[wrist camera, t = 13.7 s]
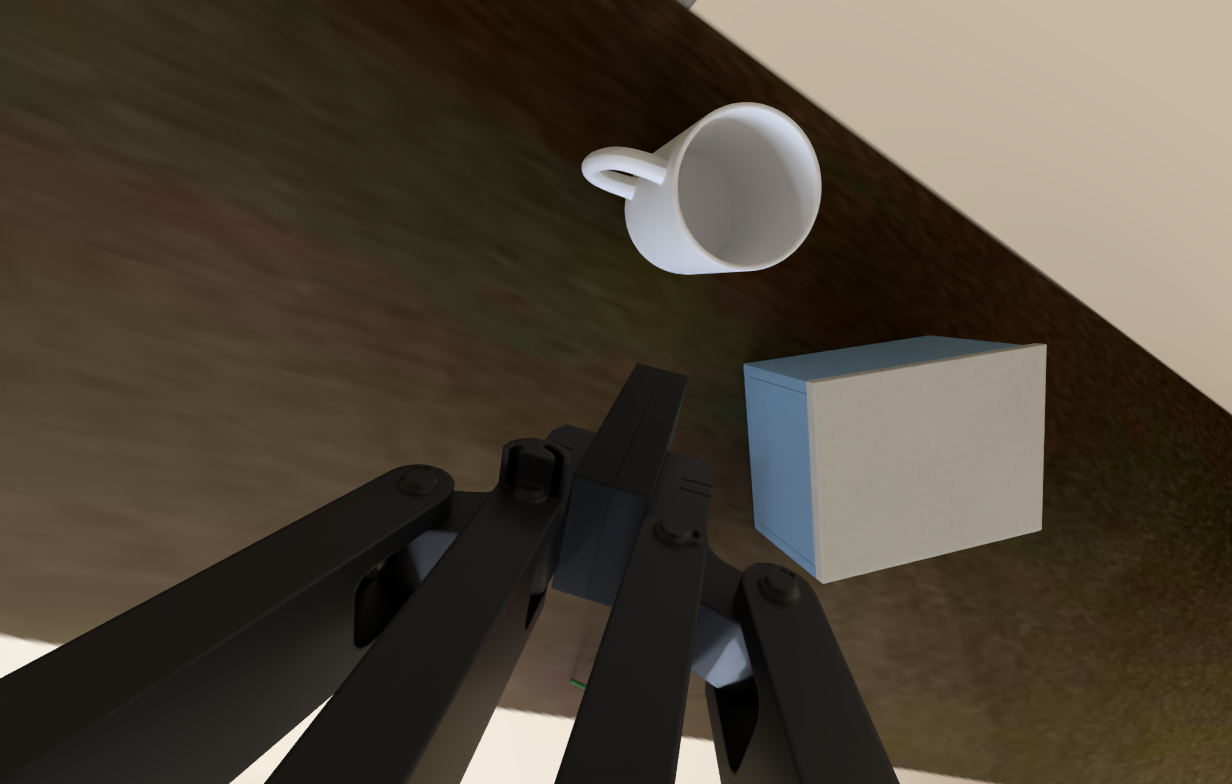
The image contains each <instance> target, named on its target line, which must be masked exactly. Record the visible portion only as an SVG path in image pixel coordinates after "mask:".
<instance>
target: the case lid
mask: <svg viewBox="0 0 1232 784" xmlns="http://www.w3.org/2000/svg"><path fill="white" fill-rule="evenodd" d="M1045 379H1046V344H1038V343H1034V344H1028V345H1022V346H1016V347H1010V348H1004V349H997V350H991V351H985V352H979V353H973V354H967V355H961V356H955V357H949V358H942V359H936V360H930V361H924V362H918V363H912V364H906V365H900V366H894V367H888V368H881V369H875V370H869V371H863V372H857V373H851V374H845V375H839V376H833V377H826V378H820V379H814V380H808V381H806V391H807V411H808V431H809V450H810V470H811V490H812V510H813V530H814V550H815V569H816V579H818V580H819V581H820V582H821V583H823V584H824V583H828V582H832V581H836V580H840V579H844V578H848V577H852V576H857V575H861V574H865V573H869V572H873V571H877V570H881V569H885V568H889V567H893V566H897V565H901V564H905V563H909V562H914V561H918V560H922V559H926V558H930V557H934V556H938V555H942V554H946V553H950V552H954V551H958V550H962V549H966V548H970V547H975V546H979V545H983V544H987V543H991V542H995V541H999V540H1003V539H1007V538H1011V537H1015V536H1019V535H1023V534H1027V533H1032V532H1036V531H1040V530H1042V495H1043V457H1044V418H1045Z"/></svg>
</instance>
